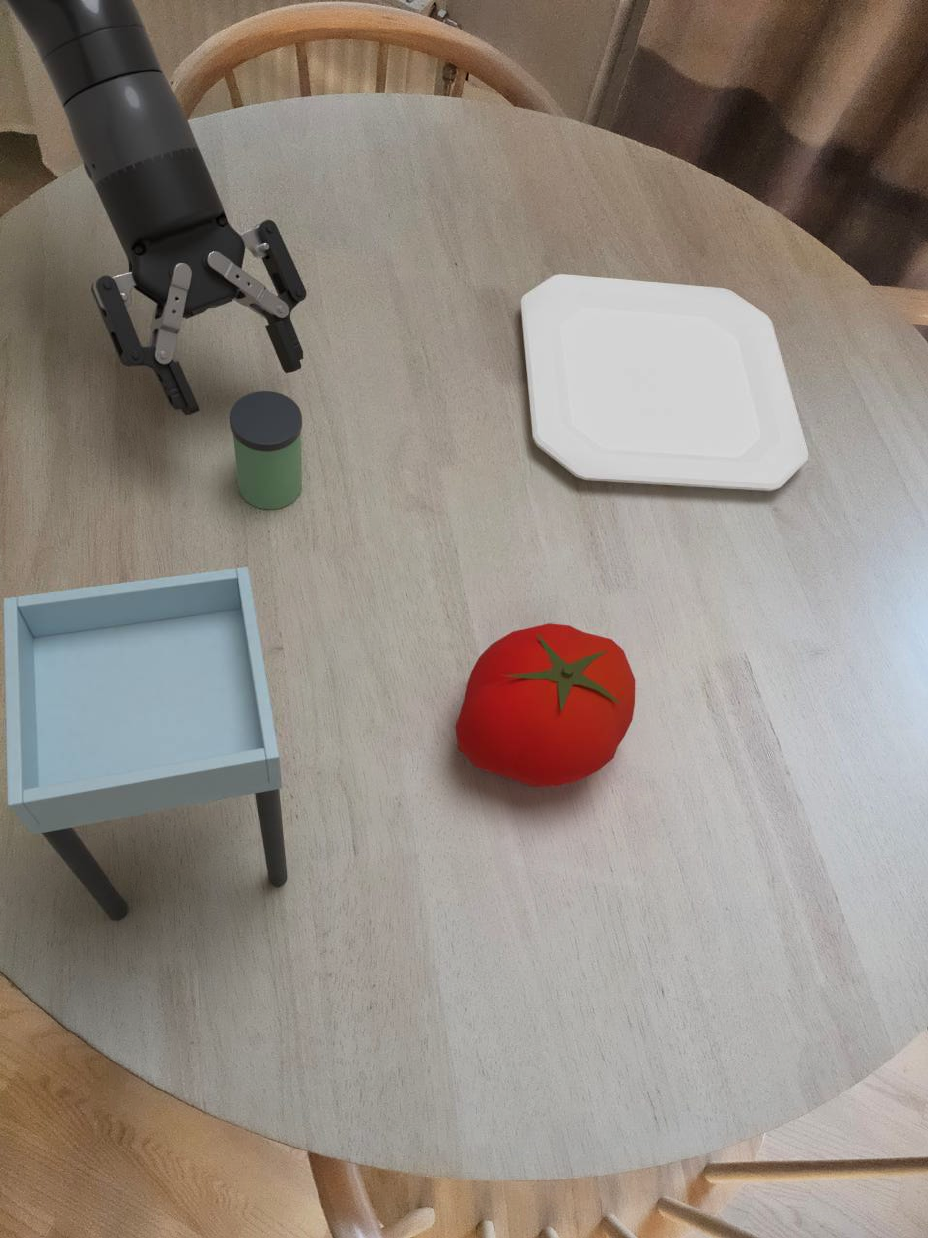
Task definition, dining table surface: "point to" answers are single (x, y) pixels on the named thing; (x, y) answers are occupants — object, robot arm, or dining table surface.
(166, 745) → the tray
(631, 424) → the plate
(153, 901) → the dining table surface
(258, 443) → the plastic tub
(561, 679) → the tomato
